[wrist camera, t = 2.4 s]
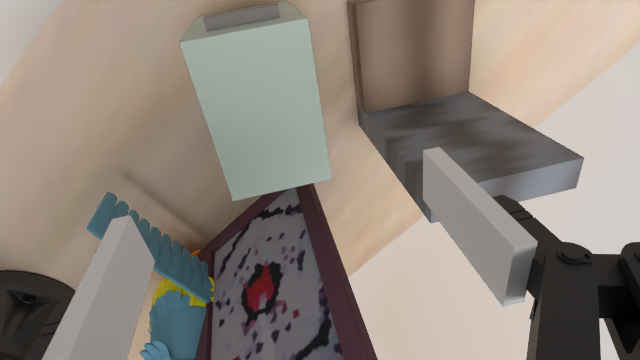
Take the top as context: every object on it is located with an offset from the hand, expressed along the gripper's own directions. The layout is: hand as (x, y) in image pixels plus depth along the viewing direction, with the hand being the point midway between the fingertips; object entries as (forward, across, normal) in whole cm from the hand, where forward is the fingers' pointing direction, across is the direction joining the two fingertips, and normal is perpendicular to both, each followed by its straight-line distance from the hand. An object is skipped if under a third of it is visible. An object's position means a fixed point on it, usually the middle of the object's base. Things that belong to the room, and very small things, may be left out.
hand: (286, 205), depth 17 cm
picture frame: (+23, -2, -19) cm, 30 cm away
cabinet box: (+23, 0, 0) cm, 23 cm away
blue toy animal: (+23, -13, -21) cm, 34 cm away
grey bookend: (+23, +14, 0) cm, 27 cm away
